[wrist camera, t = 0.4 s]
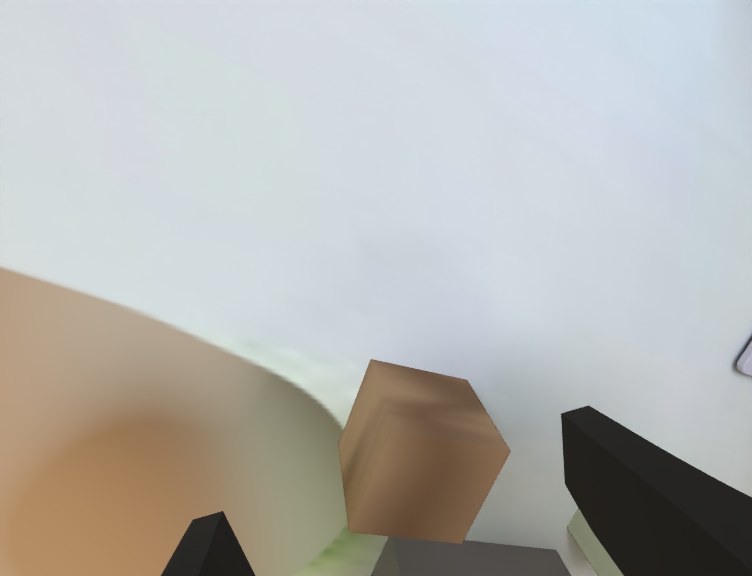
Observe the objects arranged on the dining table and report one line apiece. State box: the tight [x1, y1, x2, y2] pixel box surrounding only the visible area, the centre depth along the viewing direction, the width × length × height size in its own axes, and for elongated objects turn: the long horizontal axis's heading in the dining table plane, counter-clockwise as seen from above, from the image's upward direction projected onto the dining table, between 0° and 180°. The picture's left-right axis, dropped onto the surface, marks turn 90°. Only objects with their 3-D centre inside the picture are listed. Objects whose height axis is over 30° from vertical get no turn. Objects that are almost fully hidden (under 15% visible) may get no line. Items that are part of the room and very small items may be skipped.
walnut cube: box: [338, 359, 511, 544], centre depth 18 cm, size 4×4×4 cm
